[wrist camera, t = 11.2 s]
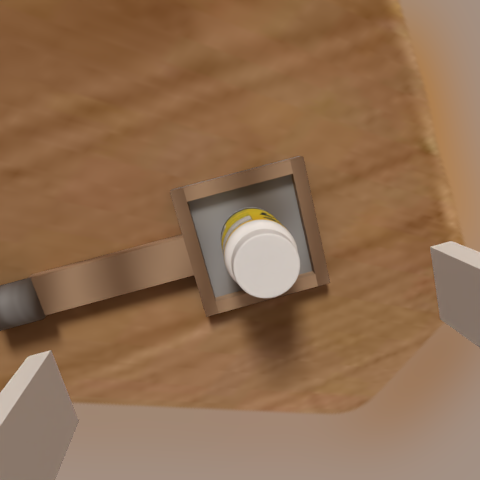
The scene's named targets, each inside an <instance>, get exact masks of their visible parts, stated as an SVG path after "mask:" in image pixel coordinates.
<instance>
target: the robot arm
mask: <svg viewBox="0 0 480 480" xmlns="http://www.w3.org/2000/svg"><path fill="white" fill-rule="evenodd" d="M430 249H431V256H432V263H433V271H434V278H435V285H436V292H437V299H438V307H439V314H440V319H441V320H442V321H443V322H445V323H446V324H448V325H449V326H450V327H452V328H453V329H455V330H456V331H457V332H459V333H460V334H462V335H463V336H465V337H466V338H467V339H468V340H470V341H471V342H473V343H474V344H475V345H477V346H478V347H480V252H478V251H475V250H473V249H470V248H468V247H465V246H463V245H460V244H457V243H455V242H452V241H450V242H446V243H443V244H439V245H435V246H432V247H430ZM78 421H79V420H78V418H77V415H76V413H75V410H74V407H73V405H72V402H71V400H70V397H69V395H68V392H67V390H66V387H65V384H64V382H63V379H62V377H61V374H60V372H59V369H58V367H57V364H56V361H55V359H54V356H53V354H52V351H51V350H50V351H46V352H43V353H39V354H35V355H31V356H28V357H27V358H26V360H25V361H24V362H23V364H22V365H21V366H20V368H19V369H18V370H17V371H16V373H15V374H14V375H13V377H12V378H11V379H10V381H9V382H8V383H7V385H6V386H5V387H4V389H3V390H2V391H1V393H0V480H55V479H56V476H57V474H58V471H59V469H60V466H61V464H62V461H63V459H64V456H65V454H66V451H67V449H68V446H69V444H70V441H71V439H72V437H73V434H74V432H75V429H76V427H77V424H78Z"/></svg>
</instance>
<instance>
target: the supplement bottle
mask: <svg viewBox="0 0 480 480" xmlns="http://www.w3.org/2000/svg"><path fill="white" fill-rule="evenodd" d="M221 247H222V251H223V256H224V261H225V266H226V268H227V271H228V273H229V274H230V276H231V277H232V279H233V280H234V281H235V282H236V283H238V284H239V286H240V287H241V288H242V289H243V290H244V291H245V292H246V293H248V294H250V295H252V296H254V297H258V298H273V297H277V296H279V295H281V294H283V293H285V292H286V291H288V290H289V289H290V288H291V287H292V286H293V284H294V283H295V281H296V280H297V277H298V275H299V271H300V258H299V254H298V250H297V245H296V242H295V240H294V238H293V236H292V235H291V234H290V232H289V231H288V230H287V229H286V228H285V227H284V226H283V225H282V224H281V223H280V222H279V221H278V220H277V219H276V218H275V217H274V216H273V215H271V214H270V213H269V212H267V211H265V210H263V209H260V208H255V207H249V208H244V209H240V210H238V211H236V212H235V213H233V214H232V215H231V216H230V217H229V218H228V219H227V220H226V222H225V223H224V225H223V228H222V231H221Z"/></svg>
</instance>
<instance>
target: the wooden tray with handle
mask: <svg viewBox="0 0 480 480" xmlns="http://www.w3.org/2000/svg"><path fill="white" fill-rule="evenodd" d="M170 195H171V198H172V201H173V205H174V208H175V212H176V215H177V218H178V222H179V225H180V229H181V232H182V235H178V236H174V237H170V238H167V239H163V240H159V241H155V242H152V243H148V244H144V245H140V246H137V247H133V248H129V249H125V250H122V251H118V252H114V253H111V254H107V255H103V256H99V257H96V258H92V259H88V260H84V261H81V262H77V263H73V264H69V265H66V266H62V267H58V268H54V269H51V270H47V271H43V272H39V273H36V274H32V275H30V276H29V277H28V278H26V279H23V280H19V281H15V282H12V283H8V284H4V285H0V331H1V330H5V329H9V328H12V327H16V326H20V325H23V324H27V323H31V322H35V321H38V320H42V319H44V318H45V317H46V315H49V314H53V313H56V312H60V311H64V310H67V309H71V308H75V307H78V306H82V305H86V304H90V303H93V302H97V301H101V300H104V299H108V298H112V297H115V296H119V295H123V294H127V293H130V292H134V291H138V290H141V289H145V288H149V287H152V286H156V285H160V284H163V283H167V282H171V281H175V280H178V279H182V278H186V277H189V276H193V275H194V276H195V280H196V283H197V286H198V290H199V293H200V297H201V300H202V303H203V307H204V310H205V314H206V317H208V316H211V315H215V314H218V313H222V312H226V311H229V310H233V309H237V308H240V307H244V306H248V305H251V304H255V303H259V302H262V301H266V300H270V299H273V298H277V297H281V296H284V295H288V294H292V293H295V292H299V291H302V290H306V289H310V288H313V287H317V286H321V285H324V284H328V283H330V279H329V274H328V270H327V265H326V260H325V256H324V251H323V246H322V242H321V237H320V232H319V228H318V223H317V218H316V214H315V209H314V204H313V200H312V195H311V190H310V186H309V181H308V176H307V172H306V167H305V162H304V158H303V157H302V156H297V157H294V158H290V159H286V160H282V161H278V162H275V163H271V164H267V165H263V166H260V167H256V168H252V169H248V170H244V171H241V172H237V173H233V174H229V175H225V176H222V177H218V178H214V179H210V180H207V181H203V182H199V183H195V184H191V185H188V186H184V187H180V188H176V189H173V190H171V191H170ZM249 207H255V208H260V209H263V210H265V211H267V212H269V213H270V214H271V215H273V216H274V217H275V218H276V219H277V220H278V221H279V222H280V223H281V224H282V225H283V226H284V227H285V228H286V229H287V230H288V231H289V232H290V234H291V235H292V236H293V238H294V240H295V242H296V245H297V250H298V254H299V258H300V271H299V275H298V277H297V280H296V281H295V283H294V284H293V286H292V287H291V288H290V289H289V290H288V291H286V292H285V293H283V294H281V295H279V296H277V297H273V298H258V297H254V296H252V295H250V294H248V293H246V292H245V291H244V290H243V289H242V288H241V287H240V286H239V284H238V283H236V282H235V281H234V280H233V279H232V277H231V276H230V274H229V273H228V271H227V268H226V266H225V261H224V256H223V251H222V247H221V231H222V228H223V225H224V223H225V222H226V220H227V219H228V218H229V217H230V216H231V215H232V214H233V213H235V212H236V211H238V210H240V209H244V208H249Z"/></svg>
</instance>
